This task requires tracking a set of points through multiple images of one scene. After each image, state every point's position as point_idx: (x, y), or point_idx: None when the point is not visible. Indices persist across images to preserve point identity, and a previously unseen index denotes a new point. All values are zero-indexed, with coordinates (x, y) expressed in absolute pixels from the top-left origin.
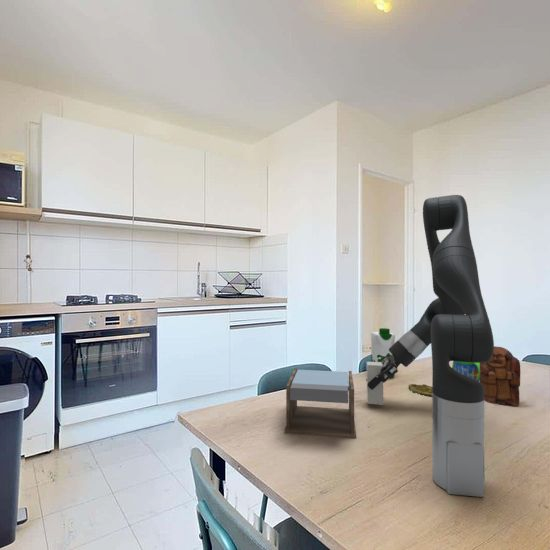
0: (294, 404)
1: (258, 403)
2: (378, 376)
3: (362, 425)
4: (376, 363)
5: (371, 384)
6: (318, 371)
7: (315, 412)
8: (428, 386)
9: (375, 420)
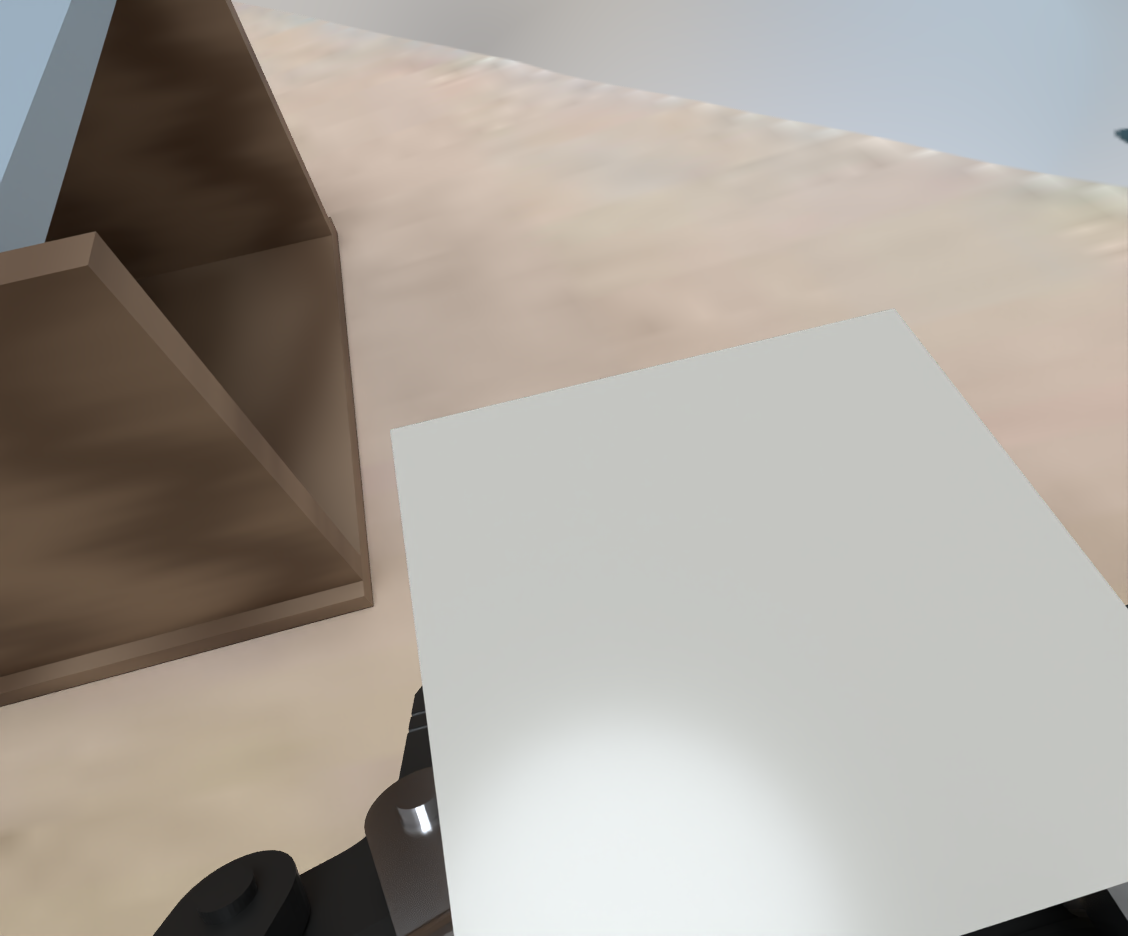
0: (129, 215)
1: (368, 95)
2: (199, 888)
3: (30, 771)
4: (811, 654)
5: (418, 713)
6: (18, 7)
7: (219, 359)
8: None
9: (176, 891)
